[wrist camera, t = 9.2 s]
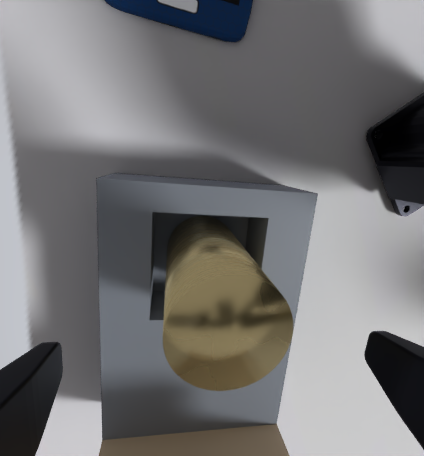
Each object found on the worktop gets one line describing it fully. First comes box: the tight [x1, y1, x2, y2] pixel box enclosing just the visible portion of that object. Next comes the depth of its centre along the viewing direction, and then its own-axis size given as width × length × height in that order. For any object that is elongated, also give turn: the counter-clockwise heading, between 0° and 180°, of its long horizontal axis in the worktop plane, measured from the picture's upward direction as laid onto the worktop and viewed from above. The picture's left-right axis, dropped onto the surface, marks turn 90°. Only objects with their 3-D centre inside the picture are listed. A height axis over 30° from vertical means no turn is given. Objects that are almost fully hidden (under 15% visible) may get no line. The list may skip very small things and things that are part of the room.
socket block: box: [96, 173, 318, 456], centre depth 13 cm, size 16×11×10 cm
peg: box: [163, 216, 293, 391], centre depth 12 cm, size 4×4×8 cm
